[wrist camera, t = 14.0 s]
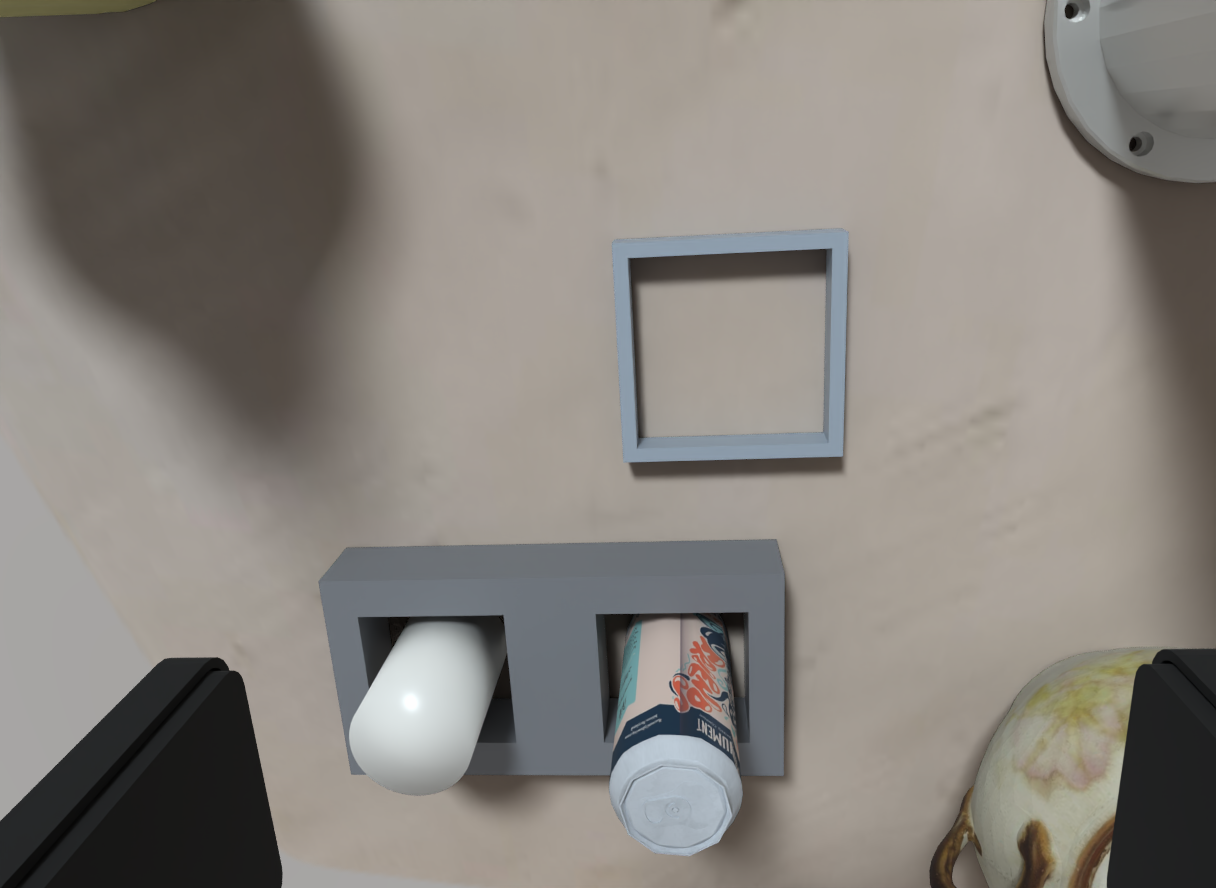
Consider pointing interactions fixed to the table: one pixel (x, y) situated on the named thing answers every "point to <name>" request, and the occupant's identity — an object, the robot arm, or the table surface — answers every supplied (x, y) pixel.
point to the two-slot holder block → (530, 651)
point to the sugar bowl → (1050, 779)
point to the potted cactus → (66, 7)
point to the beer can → (676, 734)
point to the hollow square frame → (736, 445)
